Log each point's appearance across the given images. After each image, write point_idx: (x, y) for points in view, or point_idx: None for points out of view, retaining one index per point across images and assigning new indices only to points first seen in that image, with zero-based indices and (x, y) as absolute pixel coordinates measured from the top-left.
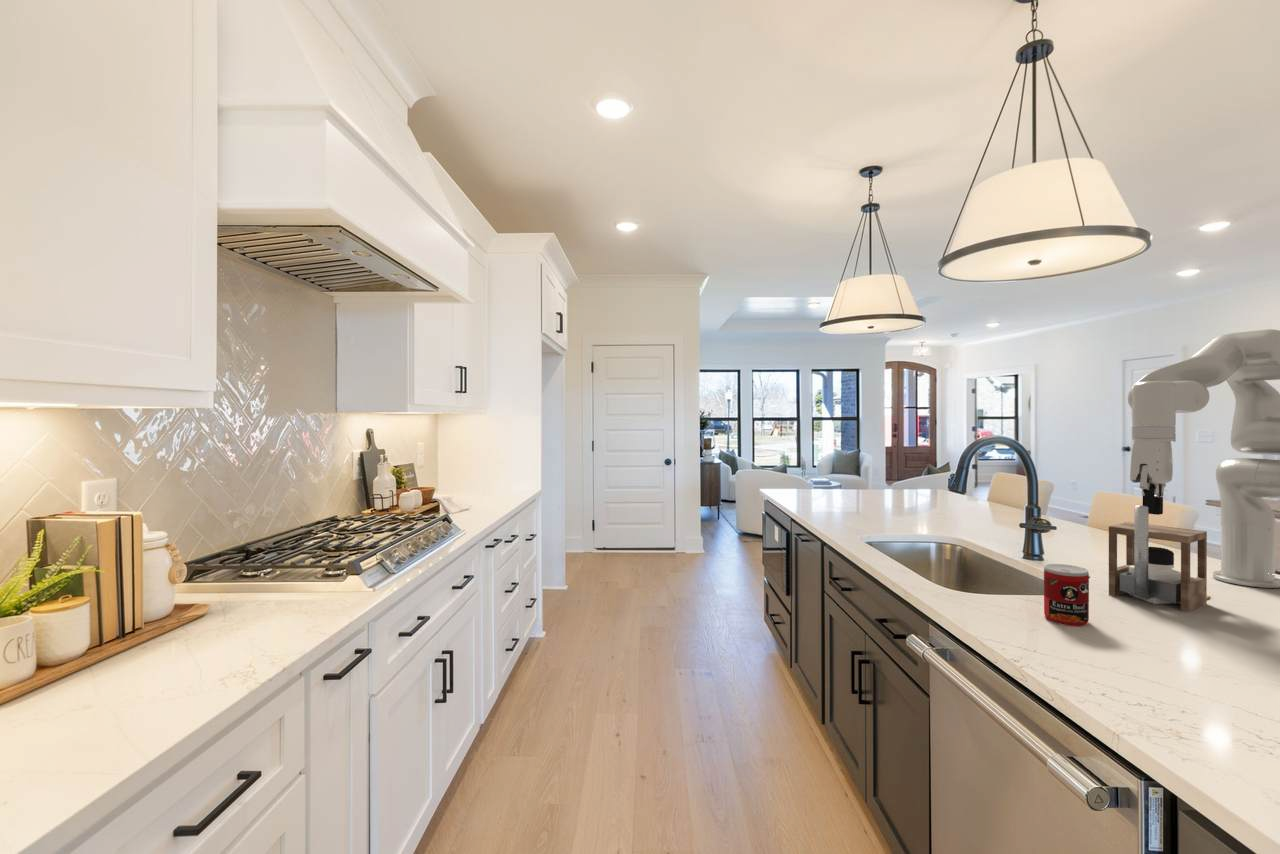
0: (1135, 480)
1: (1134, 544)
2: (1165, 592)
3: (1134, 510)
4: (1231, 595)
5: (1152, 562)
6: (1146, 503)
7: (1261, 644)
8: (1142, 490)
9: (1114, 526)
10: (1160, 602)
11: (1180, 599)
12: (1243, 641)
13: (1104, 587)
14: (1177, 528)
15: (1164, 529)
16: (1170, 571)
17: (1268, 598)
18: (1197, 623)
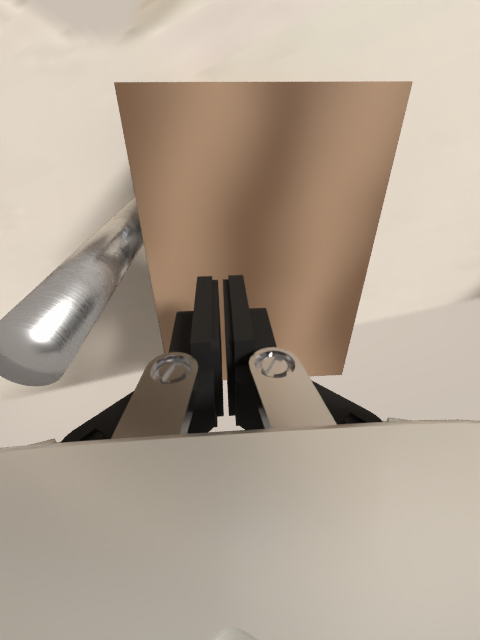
0: (72, 463)
1: (94, 234)
2: None
3: (11, 311)
4: (407, 269)
5: None
6: (171, 337)
7: (110, 371)
8: (129, 401)
9: (146, 109)
10: None
11: None
12: (99, 358)
13: (255, 47)
14: (341, 309)
15: (269, 293)
16: None
17: (427, 308)
18: (128, 301)
